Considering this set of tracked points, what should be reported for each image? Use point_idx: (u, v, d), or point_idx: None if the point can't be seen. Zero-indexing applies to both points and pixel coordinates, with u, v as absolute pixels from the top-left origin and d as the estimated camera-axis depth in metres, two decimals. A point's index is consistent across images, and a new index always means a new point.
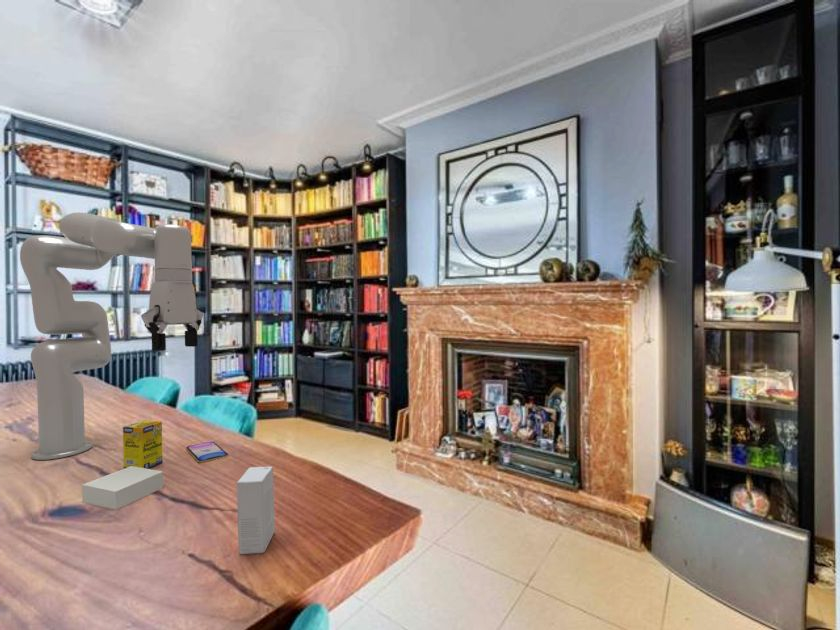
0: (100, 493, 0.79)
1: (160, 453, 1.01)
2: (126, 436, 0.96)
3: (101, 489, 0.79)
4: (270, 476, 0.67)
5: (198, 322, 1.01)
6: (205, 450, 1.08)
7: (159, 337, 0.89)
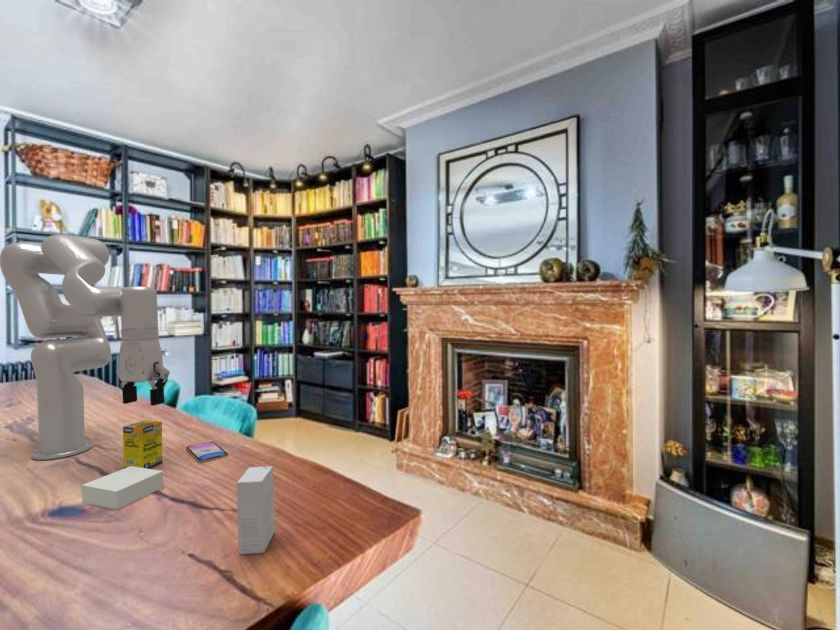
0: (100, 493, 0.79)
1: (160, 453, 1.01)
2: (126, 436, 0.96)
3: (101, 489, 0.79)
4: (270, 476, 0.67)
5: None
6: (205, 450, 1.08)
7: None
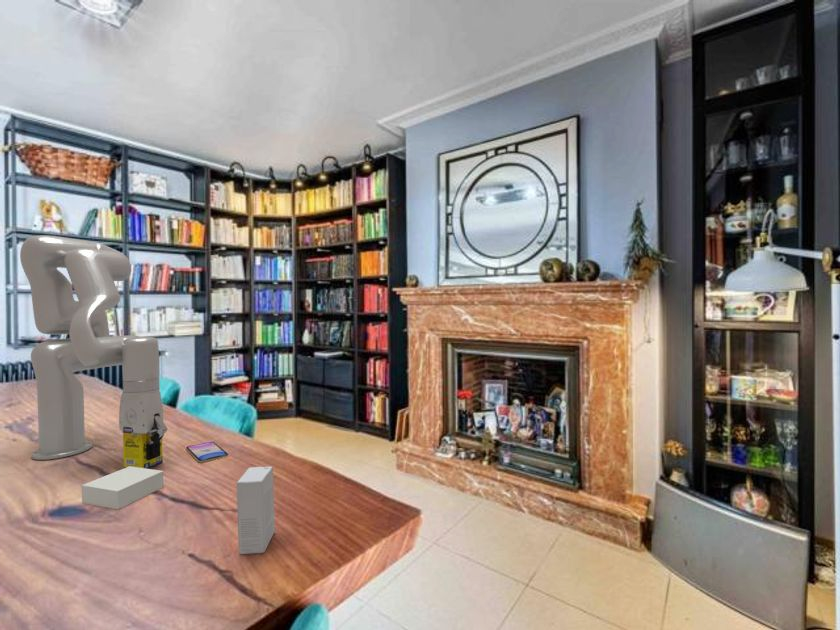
0: (101, 493, 0.79)
1: (160, 453, 1.01)
2: (126, 436, 0.96)
3: (102, 489, 0.79)
4: (270, 476, 0.67)
5: None
6: (205, 450, 1.08)
7: None
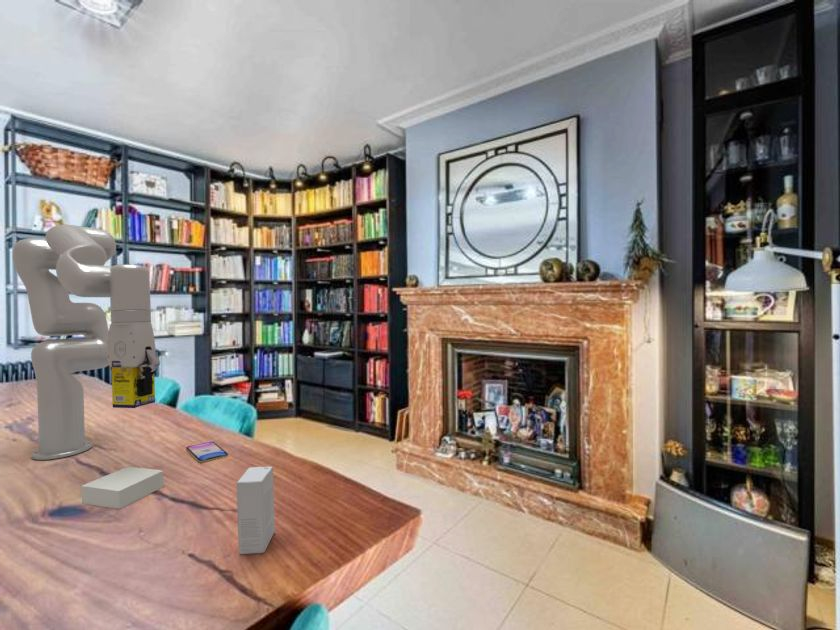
0: (102, 493, 0.79)
1: None
2: (115, 371, 0.89)
3: (102, 489, 0.79)
4: (270, 476, 0.67)
5: None
6: (205, 450, 1.08)
7: None
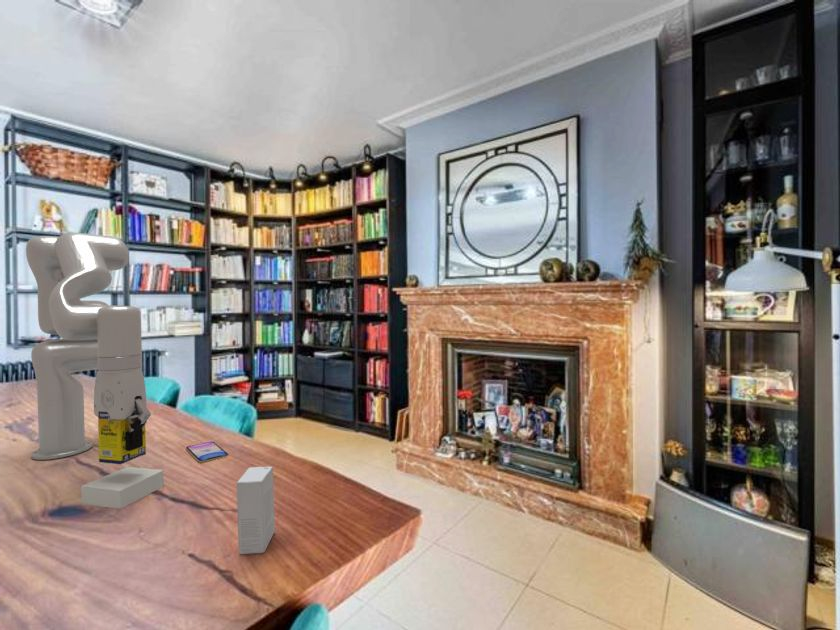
0: (102, 493, 0.79)
1: (143, 443, 0.86)
2: (102, 422, 0.81)
3: (103, 489, 0.79)
4: (270, 476, 0.67)
5: None
6: (205, 450, 1.08)
7: None
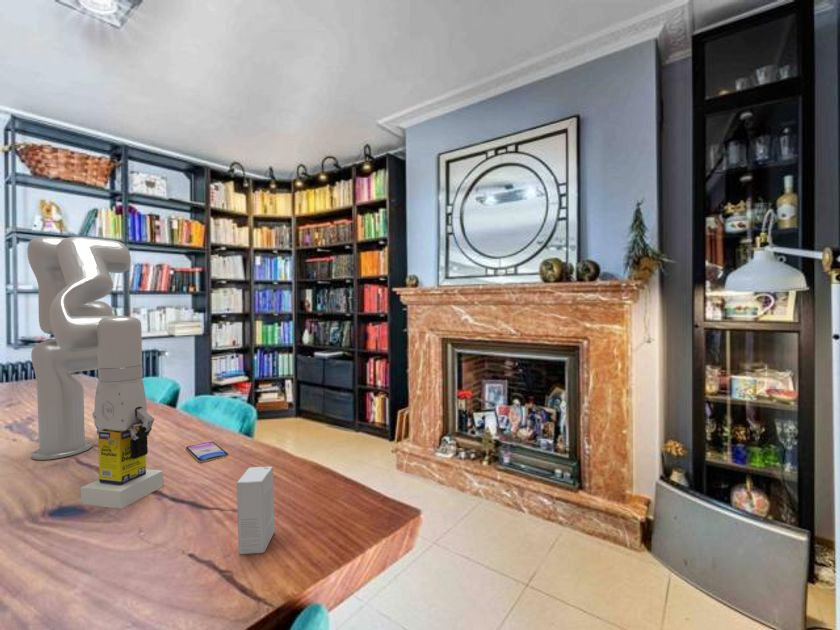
0: (102, 494, 0.79)
1: (143, 463, 0.86)
2: (102, 443, 0.82)
3: (103, 490, 0.79)
4: (270, 476, 0.67)
5: None
6: (205, 450, 1.08)
7: None
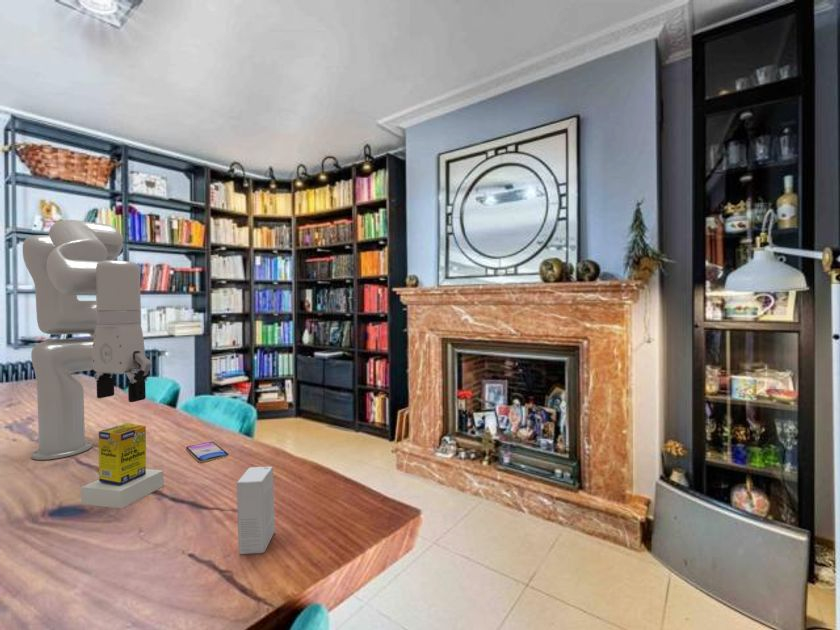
0: (103, 494, 0.79)
1: (143, 463, 0.85)
2: (102, 443, 0.81)
3: (103, 490, 0.79)
4: (270, 476, 0.67)
5: None
6: (205, 450, 1.08)
7: None
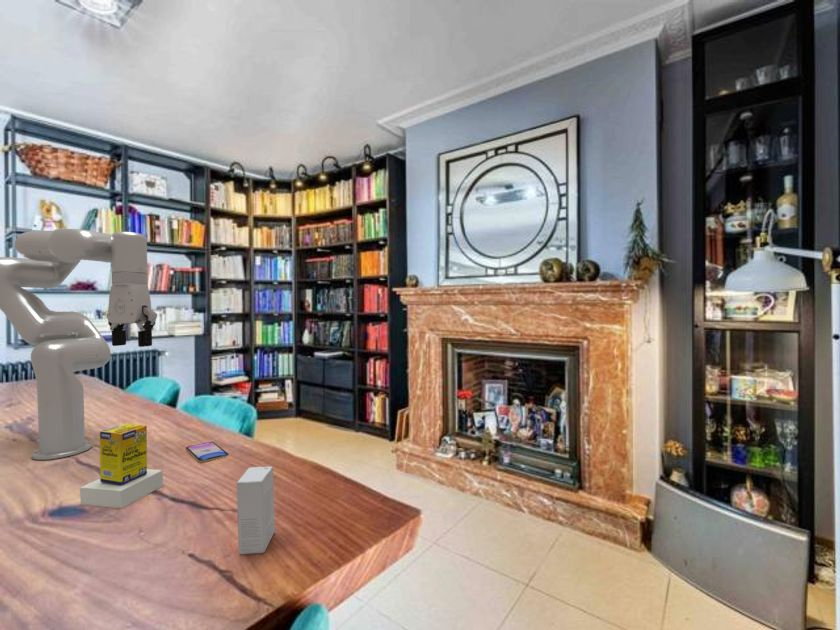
0: (102, 494, 0.79)
1: (144, 463, 0.85)
2: (103, 443, 0.81)
3: (103, 490, 0.79)
4: (270, 476, 0.67)
5: None
6: (205, 450, 1.08)
7: None
